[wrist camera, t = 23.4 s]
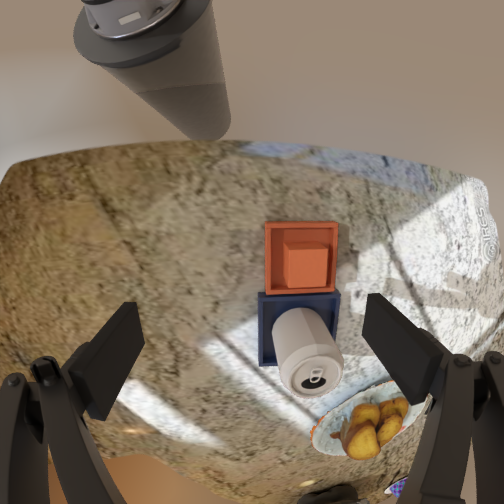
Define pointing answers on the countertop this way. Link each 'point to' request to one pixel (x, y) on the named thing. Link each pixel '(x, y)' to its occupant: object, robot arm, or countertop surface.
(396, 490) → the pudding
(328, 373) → the can
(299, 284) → the block
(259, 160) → the countertop surface
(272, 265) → the terracotta tray
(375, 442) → the food on plate
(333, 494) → the stone bowl
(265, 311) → the navy tray
